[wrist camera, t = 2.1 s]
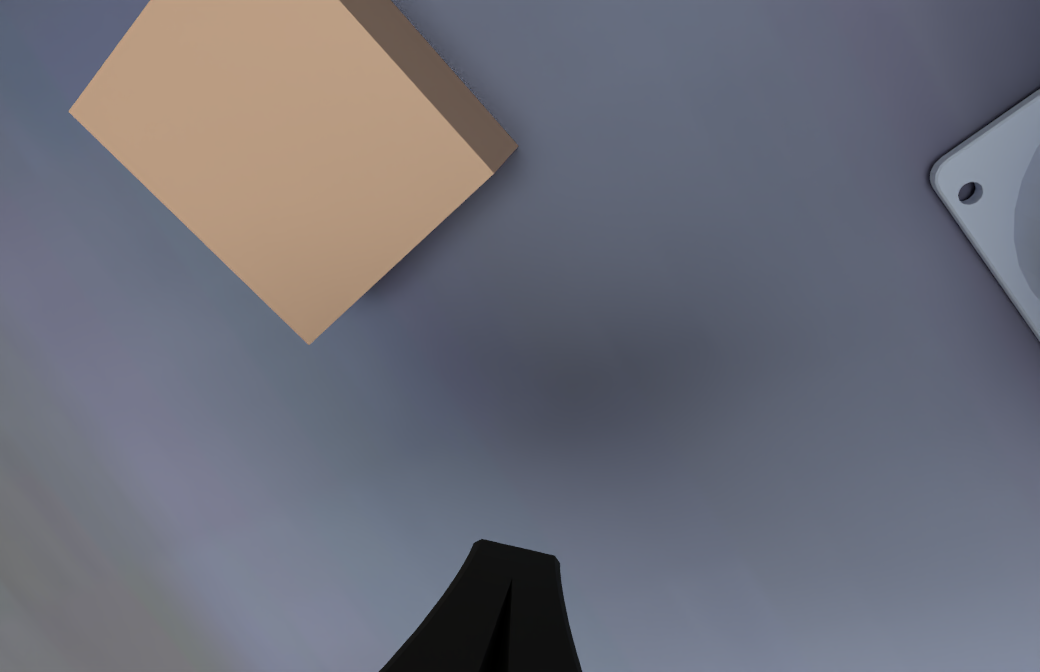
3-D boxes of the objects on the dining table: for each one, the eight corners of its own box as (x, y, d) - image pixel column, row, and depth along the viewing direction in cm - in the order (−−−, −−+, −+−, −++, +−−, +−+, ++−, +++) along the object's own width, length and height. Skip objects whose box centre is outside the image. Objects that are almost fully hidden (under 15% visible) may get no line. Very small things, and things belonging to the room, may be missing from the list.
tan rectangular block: (519, 144, 18) (494, 173, 15) (364, 288, 21) (309, 345, 17) (318, -85, 17) (235, -116, 13) (174, 96, 19) (68, 111, 15)
